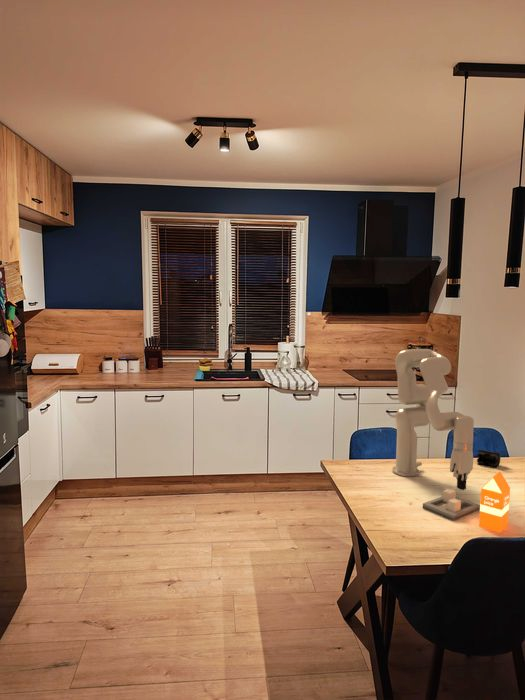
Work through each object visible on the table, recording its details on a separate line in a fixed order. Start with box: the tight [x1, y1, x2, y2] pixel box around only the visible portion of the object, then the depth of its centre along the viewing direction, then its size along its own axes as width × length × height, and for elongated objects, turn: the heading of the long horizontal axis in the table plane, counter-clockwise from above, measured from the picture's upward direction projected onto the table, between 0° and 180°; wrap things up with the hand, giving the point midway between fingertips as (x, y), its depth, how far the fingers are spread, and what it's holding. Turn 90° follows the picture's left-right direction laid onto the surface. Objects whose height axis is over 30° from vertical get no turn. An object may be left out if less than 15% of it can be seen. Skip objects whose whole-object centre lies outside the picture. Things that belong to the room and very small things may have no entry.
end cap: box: [476, 449, 502, 469], centre depth 258 cm, size 10×7×7 cm
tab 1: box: [442, 488, 457, 503], centre depth 209 cm, size 4×3×4 cm
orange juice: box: [478, 471, 511, 533], centre depth 189 cm, size 8×9×20 cm
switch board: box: [422, 495, 480, 522], centre depth 204 cm, size 18×14×2 cm
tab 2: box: [448, 498, 461, 513], centre depth 199 cm, size 4×3×4 cm
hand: (461, 488), depth 213 cm, fingers closed
